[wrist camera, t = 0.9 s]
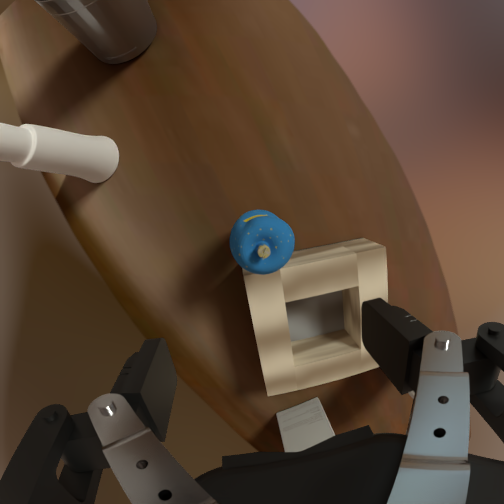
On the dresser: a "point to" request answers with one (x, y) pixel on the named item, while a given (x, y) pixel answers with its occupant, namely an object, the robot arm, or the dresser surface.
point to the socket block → (316, 313)
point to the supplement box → (304, 426)
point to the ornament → (261, 242)
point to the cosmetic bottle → (58, 151)
